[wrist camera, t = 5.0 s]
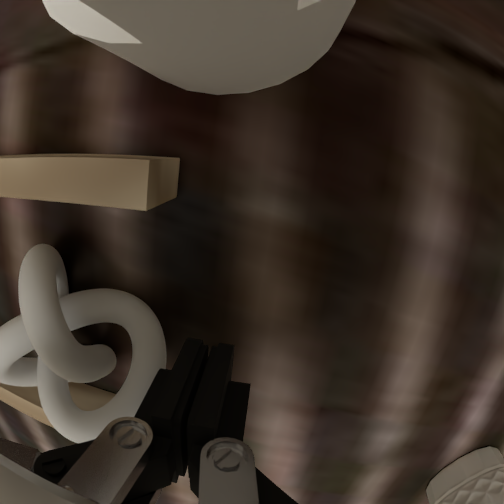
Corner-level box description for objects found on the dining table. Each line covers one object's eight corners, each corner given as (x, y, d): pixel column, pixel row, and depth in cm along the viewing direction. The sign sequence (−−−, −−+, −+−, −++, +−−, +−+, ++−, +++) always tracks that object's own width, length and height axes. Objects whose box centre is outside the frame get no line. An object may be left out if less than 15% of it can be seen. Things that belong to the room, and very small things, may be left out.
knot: (20, 236, 13) (-63, 275, 8) (154, 218, 12) (70, 267, 7) (60, 362, 15) (5, 425, 10) (186, 374, 14) (149, 467, 9)
